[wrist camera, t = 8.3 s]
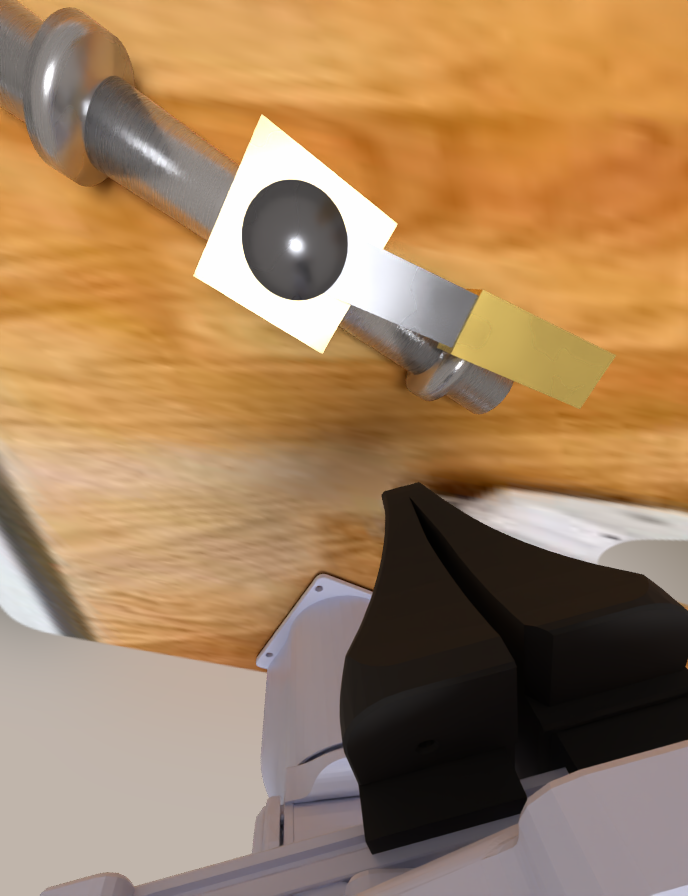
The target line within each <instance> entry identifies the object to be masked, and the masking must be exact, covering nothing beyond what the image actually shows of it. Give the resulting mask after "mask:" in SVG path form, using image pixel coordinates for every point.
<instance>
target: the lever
mask: <svg viewBox="0 0 688 896" xmlns="http://www.w3.org/2000/svg"><path fill="white" fill-rule="evenodd" d="M241 238H242V248H243V253H244V256H245V260H246V262H247V264H248V267H249V268H250V270H251V272H252V274H253V275H254V277H255V278H256V279H257V280H258V282H259V283H260V284H261V285H262V286H263V287H264V288H266V289H267V290H268V291H270V292H271V293H273V294H274V295H277V296H279V297H281V298H284V299H288V300H293V301H303V300H309V299H313V298H315V297H318V296H320V295H321V294H323V293H325V294H327V295H330V296H332V297H334V298H337V299H339V300H341V301H344V302H346V303H348V304H351V305H353V306H355V307H358V308H360V309H362V310H365V311H367V312H369V313H372V314H374V315H376V316H379V317H381V318H383V319H386V320H388V321H390V322H393V323H395V324H397V325H400V326H402V327H404V328H406V329H409V330H411V331H413V332H416V333H418V334H420V335H423V336H425V337H427V338H430V339H432V340H434V341H437V342H439V343H438V345H437V347H436V348H439V349H441V350H443V351H445V352H447V353H449V354H452V355H454V356H456V357H459V358H461V359H463V360H466V361H468V362H471V363H473V364H475V365H478V366H480V367H482V368H485V369H487V370H489V371H492V372H494V373H496V374H499V375H501V376H503V377H506V378H508V379H511V380H513V381H515V382H518V383H520V384H522V385H525V386H527V387H529V388H532V389H534V390H536V391H539V392H541V393H544V394H546V395H548V396H551V397H553V398H555V399H558V400H560V401H562V402H565V403H567V404H569V405H572V406H574V407H576V408H579V409H580V408H581V407H582V405H583V404H584V402H585V401H586V399H587V398H588V396H589V395H590V393H591V392H592V390H593V389H594V387H595V386H596V384H597V383H598V381H599V380H600V378H601V377H602V375H603V374H604V372H605V371H606V370H607V368H608V367H609V365H610V364H611V362H612V361H613V359H614V358H615V356H616V355H614V354H612V353H610V352H608V351H606V350H604V349H602V348H600V347H598V346H596V345H594V344H592V343H590V342H588V341H586V340H584V339H582V338H580V337H578V336H576V335H574V334H572V333H570V332H568V331H565V330H563V329H561V328H559V327H557V326H555V325H553V324H551V323H549V322H547V321H545V320H543V319H541V318H539V317H537V316H535V315H533V314H531V313H529V312H527V311H525V310H523V309H521V308H519V307H517V306H515V305H513V304H511V303H509V302H507V301H505V300H503V299H501V298H499V297H497V296H495V295H493V294H491V293H489V292H487V291H485V290H478V289H463V288H461V287H459V286H457V285H455V284H453V283H451V282H449V281H447V280H445V279H443V278H441V277H439V276H437V275H435V274H433V273H431V272H429V271H427V270H424V269H422V268H420V267H418V266H416V265H414V264H412V263H410V262H408V261H406V260H404V259H402V258H400V257H398V256H396V255H394V254H392V253H390V252H388V251H385V250H383V249H381V248H379V247H377V246H375V245H373V244H371V243H369V242H367V241H365V240H363V239H361V238H359V237H357V236H355V235H353V234H351V233H349V232H347V231H346V226H345V223H344V220H343V217H342V215H341V213H340V211H339V209H338V207H337V206H336V204H335V203H334V202H333V200H332V199H331V198H330V197H329V196H328V195H327V194H326V193H325V192H324V191H323V190H321V189H320V188H318V187H317V186H315V185H313V184H311V183H309V182H306V181H302V180H297V179H284V180H280V181H276V182H274V183H271V184H269V185H268V186H266V187H264V188H263V189H262V190H261V191H260V192H258V194H257V195H256V196H255V197H254V198H253V200H252V201H251V203H250V204H249V206H248V208H247V210H246V213H245V216H244V219H243V224H242V233H241Z"/></svg>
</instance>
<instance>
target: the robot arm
mask: <svg viewBox="0 0 688 896" xmlns="http://www.w3.org/2000/svg"><path fill="white" fill-rule="evenodd" d="M382 500H383V505H384V509H385V537H384V545H383V553H382V559H381V564H380V568H379V572H378V576H377V580H376V583H375V587H374V590H373V592H372V591H369V590H367V589H364V588H361V587H359V586H356V585H353V584H351V583H348V582H345V581H343V580H340V579H337V578H335V577H332V576H329V575H327V574H320V575H318V576H317V577H316V578H315V579H314V580H313V582H312V583H311V585H310V586H309V587H308V589H307V590H306V591H305V593H304V594H303V595H302V597H301V598H300V600H299V601H298V602H297V604H296V605H295V606H294V608H293V609H292V610H291V612H290V613H289V614H288V616H287V617H286V619H285V620H284V621H283V623H282V624H281V625H280V627H279V628H278V629H277V631H276V632H275V633H274V635H273V636H272V638H271V639H270V640H269V642H268V643H267V644H266V646H265V647H264V648H263V650H262V651H261V652H260V654H259V655H258V657H257V659H256V665H257V666H258V667H261V668H265V669H267V682H266V695H265V708H264V721H263V735H262V748H261V771H262V777H263V782H264V785H265V788H266V791H267V794H268V796H269V799H268V800H267V803H266V806H264V807H263V808H262V810H261V811H260V813H259V814H258V816H257V817H256V822H255V830H254V839H253V849H252V854H250V855H246V856H243V857H239V858H236V859H232V860H228V861H225V862H221V863H218V864H214V865H210V866H207V867H203V868H199V869H196V870H192V871H188V872H185V873H181V874H178V875H174V876H170V877H167V878H164V879H160V880H156V881H152V882H149V883H145V884H142V885H138V886H133V884H132V882H131V881H130V880H129V879H128V878H127V877H125V876H124V875H121V874H119V873H109V872H107V873H100V874H96V875H92V876H88V877H85V878H81V879H77V880H74V881H70V882H67V883H63V884H59V885H56V886H52V887H49V888H47V889H46V890H44V891H43V892H42V893H41V894H40V896H688V669H687V668H686V667H685V666H686V663H687V660H688V611H687V610H686V609H685V608H684V607H683V606H682V605H680V604H679V603H678V602H677V601H676V600H675V599H673V598H672V597H671V596H670V595H669V594H668V593H666V592H665V591H664V590H663V589H662V588H660V587H659V586H658V585H656V584H655V583H654V582H652V581H651V580H650V579H648V578H647V577H646V576H644V575H642V574H638V573H633V572H629V571H624V570H619V569H615V568H610V567H605V566H601V565H596V564H592V563H588V562H585V561H581V560H578V559H574V558H570V557H567V556H564V555H560V554H557V553H554V552H551V551H548V550H545V549H542V548H539V547H537V546H534V545H531V544H528V543H525V542H523V541H520V540H518V539H515V538H513V537H511V536H509V535H506V534H504V533H502V532H500V531H497V530H495V529H493V528H491V527H489V526H487V525H485V524H483V523H481V522H479V521H478V520H476V519H474V518H472V517H470V516H469V515H467V514H465V513H464V512H462V511H461V510H459V509H457V508H456V507H454V506H453V505H451V504H450V503H448V502H447V501H445V500H444V499H442V498H441V497H439V496H438V495H436V494H435V493H434V492H432V491H431V490H429V489H428V488H427V487H425V486H424V485H422V484H421V483H419V482H418V483H414V484H411V485H407V486H403V487H399V488H395V489H392V490H388V491H384V492H383V494H382ZM317 586H321V587H317Z"/></svg>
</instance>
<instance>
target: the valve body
mask: <svg viewBox="0 0 688 896" xmlns="http://www.w3.org/2000/svg"><path fill="white" fill-rule="evenodd" d="M0 107H1V108H3V109H5V110H6V111H8V112H9V113H11V114H12V115H14V116H15V117H17V118H18V119H20V120H22V121H23V122H25V123H26V125H27V130H28V133H29V136H30V139H31V141H32V143H33V146H34V148H35V150H36V151H37V153H38V154H39V156H40V157H41V158H42V159H43V161H44V162H45V163H47V164H48V165H49V166H50V167H52V168H54V169H55V170H57V171H58V172H60V173H62V174H63V175H65V176H66V177H68V178H70V179H71V180H73V181H74V182H76V183H78V184H79V185H82V186H88V187H90V186H95V185H97V184H99V183H101V182H103V181H104V180H105V179H106V178H108V177H110V178H111V179H113V180H114V181H116V182H117V183H119V184H120V185H122V186H123V187H125V188H127V189H128V190H130V191H131V192H133V193H134V194H136V195H137V196H139V197H140V198H142V199H144V200H145V201H147V202H148V203H150V204H151V205H153V206H154V207H156V208H157V209H159V210H161V211H162V212H164V213H165V214H167V215H168V216H170V217H171V218H173V219H174V220H176V221H178V222H179V223H181V224H182V225H184V226H185V227H187V228H188V229H190V230H191V231H193V232H194V233H196V234H198V235H199V236H201V237H202V238H204V239H205V240H207V241H208V242H207V245H206V247H205V250H204V252H203V254H202V257H201V259H200V261H199V264H198V266H197V268H196V271H195V273H194V275H193V276H195V277H196V278H198V279H200V280H201V281H203V282H205V283H206V284H208V285H210V286H211V287H213V288H215V289H216V290H218V291H220V292H221V293H223V294H224V295H226V296H228V297H229V298H231V299H233V300H234V301H236V302H238V303H239V304H241V305H243V306H244V307H246V308H248V309H249V310H251V311H252V312H254V313H256V314H257V315H259V316H261V317H262V318H264V319H266V320H267V321H269V322H271V323H272V324H274V325H276V326H277V327H279V328H280V329H282V330H284V331H285V332H287V333H289V334H290V335H292V336H294V337H295V338H297V339H299V340H300V341H302V342H304V343H305V344H307V345H308V346H310V347H312V348H313V349H315V350H317V351H318V352H320V353H323V351H324V350H325V348H326V346H327V344H328V343H329V341H330V339H331V338H332V336H333V334H334V332H335V331H336V329H337V327H338V326H340V327H341V328H343V329H344V330H346V331H347V332H349V333H350V334H352V335H354V336H355V337H357V338H358V339H360V340H361V341H363V342H364V343H366V344H367V345H369V346H371V347H372V348H374V349H375V350H377V351H378V352H380V353H381V354H383V355H384V356H386V357H388V358H389V359H391V360H392V361H394V362H395V363H397V364H398V365H400V366H401V367H403V368H404V369H406V370H408V372H407V376H406V386H407V389H408V390H409V391H410V392H412V393H413V394H415V395H417V396H418V397H420V398H421V399H423V400H425V401H433V400H436V399H438V398H440V397H442V396H444V395H446V396H448V397H449V398H451V399H452V400H454V401H455V402H457V403H459V404H460V405H462V406H463V407H465V408H466V409H468V410H469V411H471V412H472V413H474V414H483V413H486V412H488V411H490V410H492V409H493V408H495V407H496V406H497V405H498V404H499V403H500V402H501V401H502V400H503V399H504V398H505V397H506V395H507V394H508V392H509V391H510V389H511V387H512V384H513V380H511V379H508V378H506V377H503V376H501V375H499V374H496V373H494V372H492V371H489V370H487V369H485V368H482V367H480V366H478V365H475V364H473V363H471V362H468V361H466V360H463V359H461V358H459V357H456V356H454V355H452V354H449V353H447V352H445V351H443V350H441V349H439V348H436V347H437V345H438V343H439V342H437V341H434V340H432V339H430V338H427V337H425V336H423V335H420V334H418V333H416V332H413V331H411V330H409V329H406V328H404V327H402V326H400V325H397V324H395V323H393V322H390V321H388V320H386V319H383V318H381V317H379V316H376V315H374V314H372V313H369V312H367V311H365V310H362V309H360V308H358V307H355V306H353V305H351V304H348V303H346V302H344V301H341V300H339V299H337V298H334V297H332V296H330V295H327V294H325V293H323V294H321V295H320V296H318V297H315V298H313V299H309V300H303V301H293V300H288V299H284V298H281V297H279V296H277V295H274V294H273V293H271V292H270V291H268V290H267V289H266V288H264V287H263V286H262V285H261V284H260V283H259V282H258V280H257V279H256V278H255V277H254V275H253V274H252V272H251V270H250V268H249V267H248V264H247V262H246V260H245V256H244V253H243V248H242V238H241V233H242V224H243V219H244V216H245V213H246V210H247V208H248V206H249V204H250V203H251V201H252V200H253V198H254V197H255V196H256V195H257V194H258V192H260V191H261V190H262V189H263V188H264V187H266V186H268V185H269V184H271V183H274V182H276V181H280V180H284V179H297V180H302V181H306V182H309V183H311V184H313V185H315V186H317V187H318V188H320V189H321V190H323V191H324V192H325V193H326V194H327V195H328V196H329V197H330V198H331V199H332V200H333V202H334V203H335V204H336V206H337V207H338V209H339V211H340V213H341V215H342V217H343V220H344V223H345V226H346V231H347V232H349V233H351V234H353V235H355V236H357V237H359V238H361V239H363V240H365V241H367V242H369V243H371V244H373V245H375V246H377V247H379V248H381V249H383V248H384V246H385V245H386V243H387V241H388V239H389V238H390V236H391V234H392V233H393V231H394V229H395V227H396V226H397V223H396V222H395V221H393V220H392V219H391V218H390V217H388V216H387V215H386V214H385V213H383V212H382V211H381V210H380V209H378V208H377V207H376V206H375V205H373V204H372V203H371V202H370V201H369V200H367V199H366V198H365V197H364V196H362V195H361V194H360V193H359V192H357V191H356V190H355V189H354V188H352V187H351V186H350V185H349V184H347V183H346V182H345V181H344V180H343V179H341V178H340V177H339V176H338V175H336V174H335V173H334V172H333V171H331V170H330V169H329V168H328V167H326V166H325V165H324V164H323V163H321V162H320V161H319V160H318V159H316V158H315V157H314V156H313V155H312V154H310V153H309V152H308V151H307V150H305V149H304V148H303V147H302V146H300V145H299V144H298V143H297V142H295V141H294V140H293V139H292V138H290V137H289V136H288V135H287V134H286V133H284V132H283V131H282V130H281V129H279V128H278V127H277V126H276V125H274V124H273V123H272V122H271V121H269V120H268V119H267V118H266V117H264V116H263V115H261V117H260V120H259V122H258V124H257V127H256V129H255V131H254V134H253V136H252V138H251V141H250V143H249V146H248V148H247V150H246V153H245V155H244V157H243V160H242V162H241V164H240V165H238V164H237V163H235V162H234V161H233V160H231V159H230V158H229V157H227V156H226V155H225V154H223V153H222V152H221V151H219V150H218V149H217V148H215V147H214V146H213V145H211V144H210V143H208V142H207V141H206V140H204V139H203V138H202V137H200V136H199V135H198V134H196V133H195V132H194V131H192V130H191V129H190V128H188V127H187V126H185V125H184V124H183V123H181V122H180V121H179V120H177V119H176V118H175V117H173V116H172V115H171V114H169V113H168V112H167V111H165V110H164V109H163V108H161V107H160V106H158V105H157V104H156V103H154V102H153V101H152V100H150V99H149V98H148V97H146V96H145V95H144V94H142V93H141V92H140V91H138V90H137V89H136V88H135V82H134V74H133V69H132V65H131V61H130V58H129V55H128V53H127V51H126V49H125V47H124V46H123V44H122V43H121V41H120V40H119V39H118V38H117V37H115V36H114V35H113V34H112V33H110V32H109V31H108V30H106V29H105V28H104V27H103V26H101V25H100V24H99V23H97V22H96V21H95V20H93V19H92V18H91V17H90V16H88V15H87V14H86V13H84V12H83V11H81V10H79V9H76V8H63V9H60V10H58V11H56V12H55V13H53V14H52V15H50V16H49V17H48V18H47V19H46V20H45V21H44V20H42V19H41V18H40V17H38V16H37V15H36V14H34V13H33V12H32V11H30V10H29V9H27V8H26V7H25V6H23V5H22V4H21V3H19V2H18V1H17V0H0Z"/></svg>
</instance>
